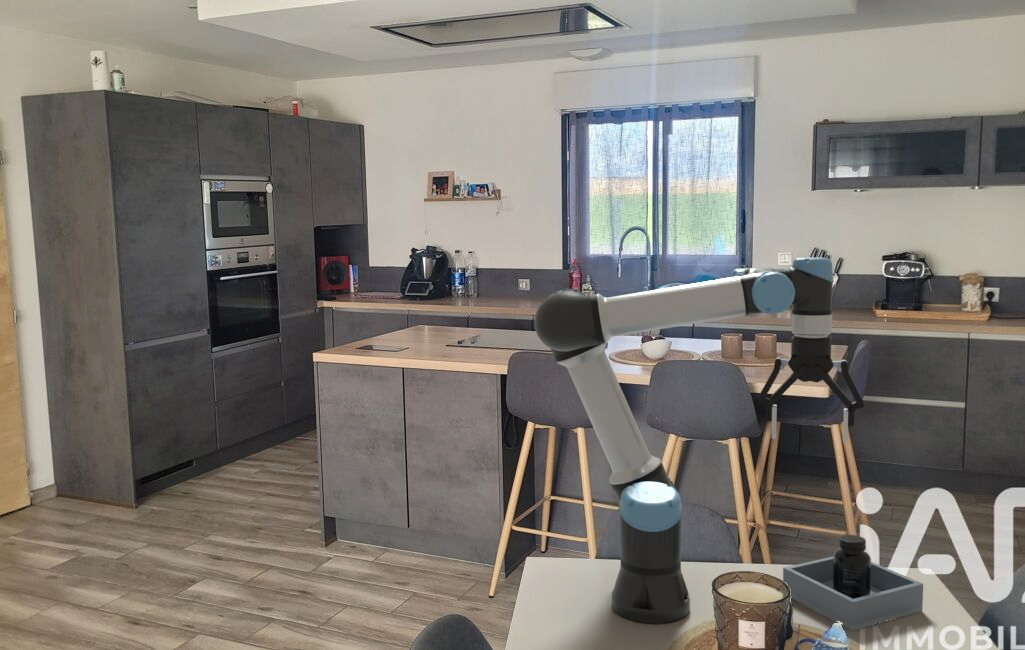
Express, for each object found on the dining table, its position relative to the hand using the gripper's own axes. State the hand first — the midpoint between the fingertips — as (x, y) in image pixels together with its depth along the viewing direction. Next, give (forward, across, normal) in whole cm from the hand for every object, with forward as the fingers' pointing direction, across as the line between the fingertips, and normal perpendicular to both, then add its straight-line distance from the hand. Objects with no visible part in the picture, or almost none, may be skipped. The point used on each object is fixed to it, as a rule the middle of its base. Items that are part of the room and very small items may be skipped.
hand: (809, 439), depth 172 cm
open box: (+31, -8, +6) cm, 32 cm away
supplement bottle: (+30, -8, +6) cm, 32 cm away
